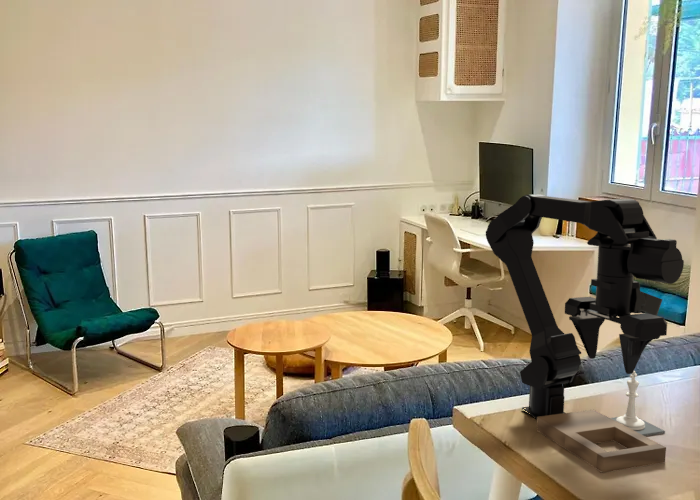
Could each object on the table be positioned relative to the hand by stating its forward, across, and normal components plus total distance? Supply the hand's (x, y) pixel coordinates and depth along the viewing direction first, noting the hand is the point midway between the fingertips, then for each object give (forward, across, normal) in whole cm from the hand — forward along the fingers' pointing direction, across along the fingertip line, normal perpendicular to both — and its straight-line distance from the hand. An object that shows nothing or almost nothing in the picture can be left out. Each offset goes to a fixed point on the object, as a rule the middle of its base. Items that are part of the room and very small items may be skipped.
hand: (610, 365), depth 118 cm
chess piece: (+13, +3, -8) cm, 15 cm away
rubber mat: (+13, +3, -8) cm, 16 cm away
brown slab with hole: (+13, -2, +3) cm, 14 cm away
